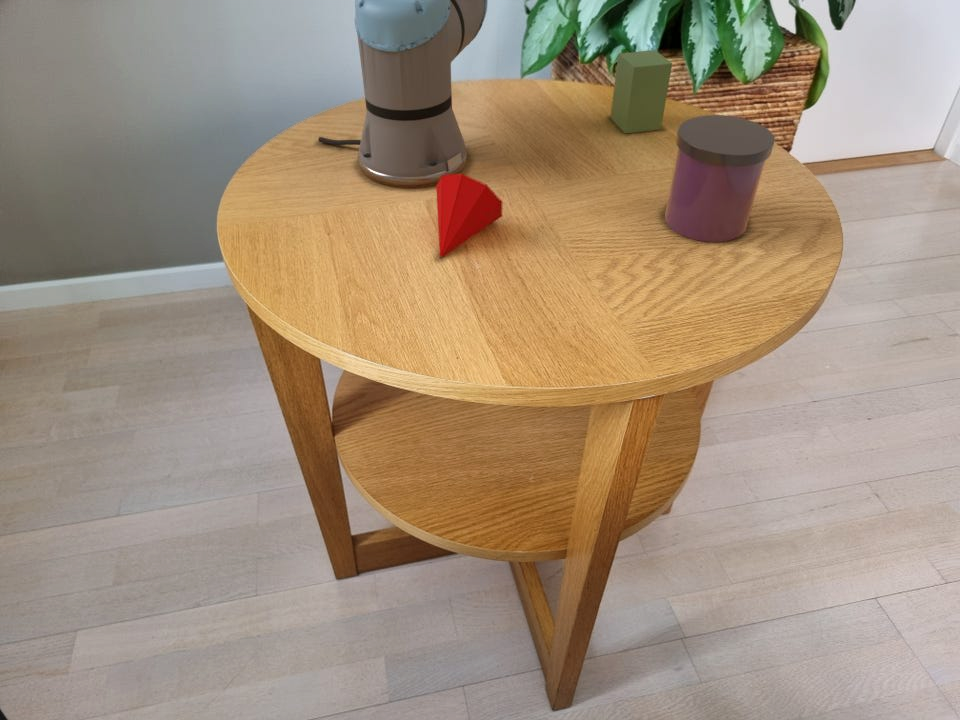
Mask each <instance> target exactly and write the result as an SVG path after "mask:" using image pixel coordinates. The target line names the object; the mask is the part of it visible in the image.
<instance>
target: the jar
mask: <svg viewBox="0 0 960 720" xmlns="http://www.w3.org/2000/svg"><path fill="white" fill-rule="evenodd" d="M675 142H676V147H677V149H676V156H675V161H674V167H673V171H672V176H671V182H670V187H669V190H668V191H669V192H668V195H667V196H668V197H667V202H666V207H665V213H664V221H665V223H666V225H667V226H668V227H669V228H670V229H671V230H672V231H674V232H676V233H677V234H678V235H681V236H682V237H685V238H688V239H692V240H694V241H695V240H696V241H700V242H708V243H723V242H728V241H732V240H735V239H738V238H740V236H742V235H743V234H744V233H745V232H746V229H747V227H748V223H749V220H750V216H751V212H752V209H753V206H754V202H755V199H756V196H757V192H758V188H759V184H760V181H761V178H762V175H763V171H764V167H765V164H766V160H768V159H769V158H770V157H771V155H772V153H773V149H774V147H775V143H776V139H775V135H774V134H773V132H772V131H771V130H769V129H768V127H765V125H762V124H760V123H757V122H755V121H752V120H750V119H746V118H743V117H738V116H732V115H724V114H707V115H699V116H694V117H691V118H688V119H685V120H684V121H683V122H681V124H679V126H678V128H677V132H676V138H675Z"/></svg>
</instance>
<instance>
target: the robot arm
mask: <svg viewBox="0 0 960 720" xmlns="http://www.w3.org/2000/svg"><path fill="white" fill-rule="evenodd" d="M354 11H355V16H354V29H355V32H356V35H357V36H356V37H357V42H358V44H357V45H358V52H359V60H360V68H361V77H362V83H363V84H362V85H363V91H364V99H365V100H364V101H365V109H366V114H365V119H364V123H363V128H362V133H361V136H360V137H361V138H360V139H332V138H331V139H330V138H327V137H322V136H319V137H318V142H319V143H323V144H327V145H331V146H333V145H334V146H359V148H358V161H359V162H358V163H359V168H360V170H361V172H362V173H363V175H364V176H366V178H368V179H370V180H371V181H374V182H377V183H379V184H382V185H386V186H391V187H399V188H419V187H427V186H433V185H437V184H439V183H438V182H440V181H439V180H440V178H441V176H442V175H444V176H445V174H461V172H462V171H463V170H464V169H465V168H466V165H467V147H466V143H465V140H464V136H463V134H462V132H461V129H460V127H459V123H458V120H457V118H456V115H455V113H454V109H453V95H452V94H453V93H452V92H453V91H452V90H453V89H452V63H453V61H454V60H455V59H456V58H457V57H458V56H459V55H460V54H461V53H462V52H463V51H464V49H465V48H466V47H467V46H468V45H470V44H471V43H472V42H473V41H474V39H475V38H476V37H477V36H478V35H479V32H480V31H481V29H482V27H483V23H484V22H485V19H486V16H487V11H488V0H354Z"/></svg>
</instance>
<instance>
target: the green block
mask: <svg viewBox="0 0 960 720" xmlns="http://www.w3.org/2000/svg"><path fill="white" fill-rule="evenodd" d="M616 62H617V63H616V70H615V78H614V86H613V95H612V102H611V111H610V120H612V122H614V124H615V125H616V126H617V127H618V128H619V129H620V131H622V133H624V134H626V135H627V134H633V133H644V132H652V131H659V130H660V131H661V130H662V127H663V126H662V125H663V119H664V114H665V108H666V102H667V96H668V90H669V84H670V79H671V73H672V69H673V68H672V67H673V63H672V62H671V61H670V60H669V59H667V58H666V57H664V55H662V54H661V53H660V52H658V51H657V50H656V49H652V50H644V51H643V50H642V51H633V52H632V51H631V52H620V53H618V54H617V61H616Z"/></svg>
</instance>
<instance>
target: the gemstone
mask: <svg viewBox="0 0 960 720" xmlns="http://www.w3.org/2000/svg"><path fill="white" fill-rule="evenodd" d="M439 181H440V182H438V183H437V184H436V186H435V188H436V189H435V191H436V207H437V209H436V210H437V227H438V245H439V258H440V259H442V258H443V257H445V256H446V255H448V254H449V253H450V252H452V251H454V250H455V249H456V248H458V247H459V246H461V245H462V244H463V243H465V242H467V241H468V240H470V239H471V238H473V237H474V236H476V235H477V234H478V233H480V232H482V231H483V230H484V229H486V228H487V227H489V226H490V225H491V224H493V223H495V222H496V221H498V220H499V219H500V218H502V217H503V200H502V199H501V198H500V197H499V196H498V195H497V194H496V193H495V191H493V190H492V189H491V187H490V186H489V185H487V184H486V183H484V182H482V181H480V180H477V179H475V178H473V177H471V176H468V175H467V174H464V173H459V174H445V176H444V175H442V176H441V178H440V180H439Z"/></svg>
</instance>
